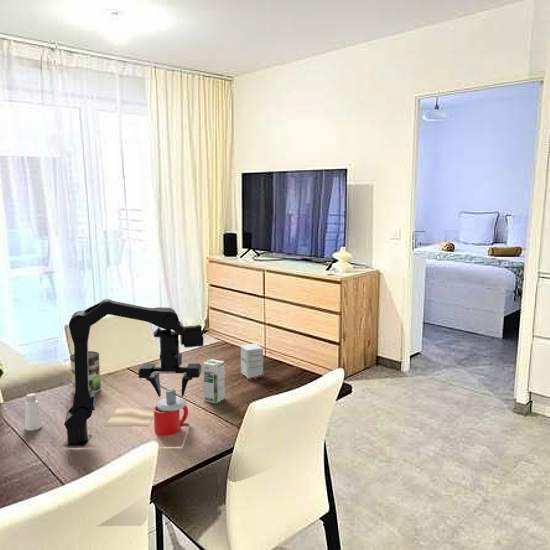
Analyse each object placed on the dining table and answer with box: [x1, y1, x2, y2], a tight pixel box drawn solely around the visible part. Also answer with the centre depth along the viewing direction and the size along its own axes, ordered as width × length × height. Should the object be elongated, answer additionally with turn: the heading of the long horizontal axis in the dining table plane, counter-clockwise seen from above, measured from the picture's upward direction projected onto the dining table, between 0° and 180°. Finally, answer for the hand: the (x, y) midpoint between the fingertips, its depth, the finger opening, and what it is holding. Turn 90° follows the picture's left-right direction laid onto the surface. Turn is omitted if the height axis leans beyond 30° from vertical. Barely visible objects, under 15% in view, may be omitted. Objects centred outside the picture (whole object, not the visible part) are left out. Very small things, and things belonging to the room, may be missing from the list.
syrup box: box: [202, 358, 226, 405], centre depth 174 cm, size 6×6×14 cm
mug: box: [153, 405, 189, 437], centre depth 153 cm, size 8×12×8 cm, turn 140°
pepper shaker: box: [24, 392, 43, 432], centre depth 154 cm, size 5×5×11 cm
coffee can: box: [69, 350, 102, 395], centre depth 183 cm, size 10×10×14 cm
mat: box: [104, 406, 155, 427], centre depth 161 cm, size 14×14×1 cm
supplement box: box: [240, 343, 264, 378], centre depth 198 cm, size 7×7×13 cm
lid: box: [156, 388, 187, 411], centre depth 152 cm, size 9×9×5 cm
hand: (171, 396), depth 152 cm, fingers open, 7 cm apart
